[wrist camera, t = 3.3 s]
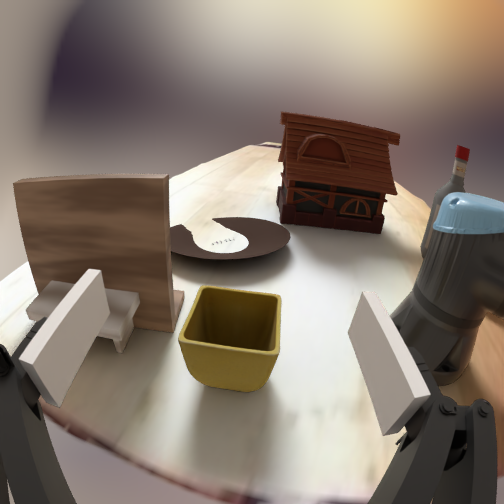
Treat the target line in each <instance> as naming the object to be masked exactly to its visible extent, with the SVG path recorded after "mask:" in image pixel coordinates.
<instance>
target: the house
mask: <svg viewBox="0 0 504 504" xmlns="http://www.w3.org/2000/svg"><path fill="white" fill-rule="evenodd" d="M280 124H284V125H285V129H284V135H283V141H282V146H281V151H280V155H279V159H278V162H283V166H284V169H283V173H281V176H282V186H281V187H280V186H278V192H277V201H276V203H277V206H278V207H279V212H280V223H282V224H294V225H302V226H312V227H322V228H334V229H340V230H349V231H358V232H367V233H375V234H381V231H382V227H383V223H384V219H385V218H384V215H383V214H382V209H383V205H384V202H387V200H386V199H385V195H386V194H391V195H397V194H398V193H397V191H396V188H395V184H394V181H393V177H392V172H391V166H390V160H389V158H390V157H389V153H388V152H389V149H388V146H389V145H388V143H390V144H394V145H399V139H400V134H398V133H394V132H390V131H386V130H383V129H379V128H375V127H369V126H365V125H361V124H356V123H352V122H347V121H342V120H334V119H329V118H324V117H317V116H310V115H304V114H297V113H289V112H281V119H280Z"/></svg>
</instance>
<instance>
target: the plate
mask: <svg viewBox="0 0 504 504" xmlns="http://www.w3.org/2000/svg"><path fill="white" fill-rule="evenodd" d="M212 220H214V221H216V222H217V223H220V224H221V225H223V226H224V227H226V228H229V229H231V230H233V231H236V232H238V233H240V234H242V235H243V236H245V237H246V238H247V239H248V241H249V245H248V246H247V248H245V249H244V250H242V251H239V252H235V253H214V252H209V251H206V250H203V249H201V248H200V247H198V246H197V245H196V244H195V243H194V241H193V235H192V234H191V232H190V231H189V230H187V229H186V227H184V226H183V225H182V224H180V225H176V226H173V227H170V246H171V251H173V252H175V253H178V254H182V255H186V256H191V257H198V258H206V259H240V258H250V257H255V256H260V255H265V254H268V253H271V252H274V251H276V250H278V249H280V248H282V247H284V246H285V245H286V244H287V243H288V242H289V240H290V233H289V232H288V230H287V229H286V228H284V227H283V226H281V225H279V224H277V223H274V222H271V221H267V220H262V219H256V218H242V217H230V218H214V219H212ZM233 240H235V239H234V238H233ZM230 241H231V240H230ZM219 242H221V241H219ZM226 242H227V241H226ZM217 243H218V242H217ZM221 243H222V242H221ZM213 245H214V244H213Z"/></svg>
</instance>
